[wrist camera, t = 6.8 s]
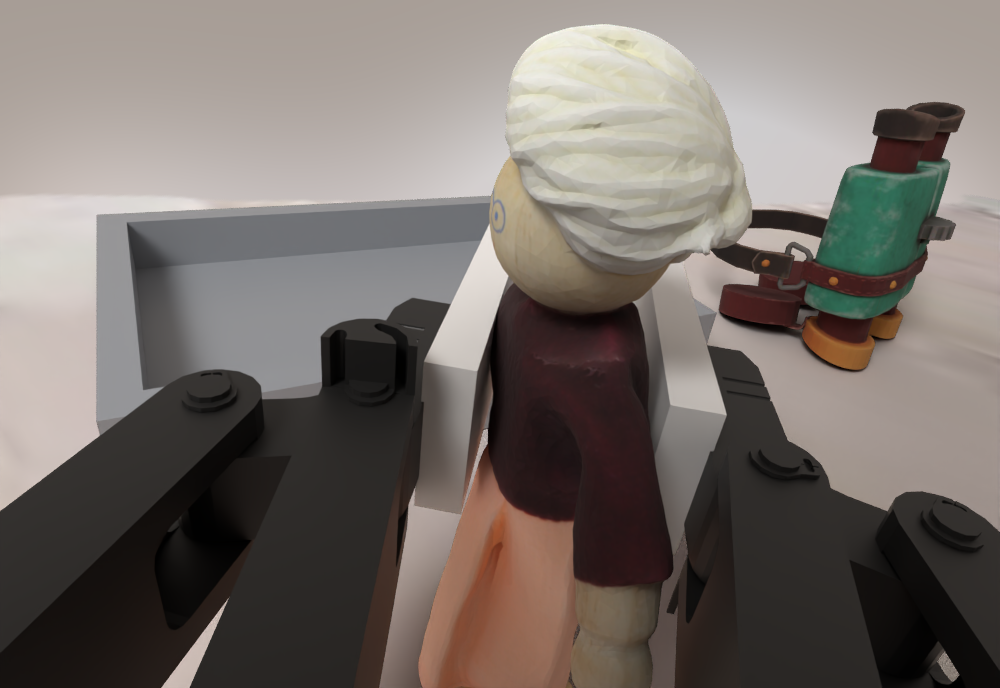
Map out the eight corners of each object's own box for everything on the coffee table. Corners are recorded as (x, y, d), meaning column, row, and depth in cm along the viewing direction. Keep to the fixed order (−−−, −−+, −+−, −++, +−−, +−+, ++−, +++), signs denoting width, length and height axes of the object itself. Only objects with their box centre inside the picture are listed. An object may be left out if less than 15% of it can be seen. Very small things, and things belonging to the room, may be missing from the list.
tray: (522, 246, 36) (530, 194, 34) (695, 379, 25) (716, 313, 24) (111, 283, 27) (96, 214, 25) (120, 514, 16) (96, 421, 15)
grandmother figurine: (387, 558, 16) (400, -11, 10) (529, 534, 17) (622, 13, 11) (466, 943, 10) (638, 67, 4) (678, 865, 11) (1090, 102, 5)
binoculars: (780, 86, 33) (1014, 107, 27) (737, 278, 38) (929, 332, 32) (697, 91, 27) (974, 119, 21) (659, 318, 32) (877, 395, 26)
